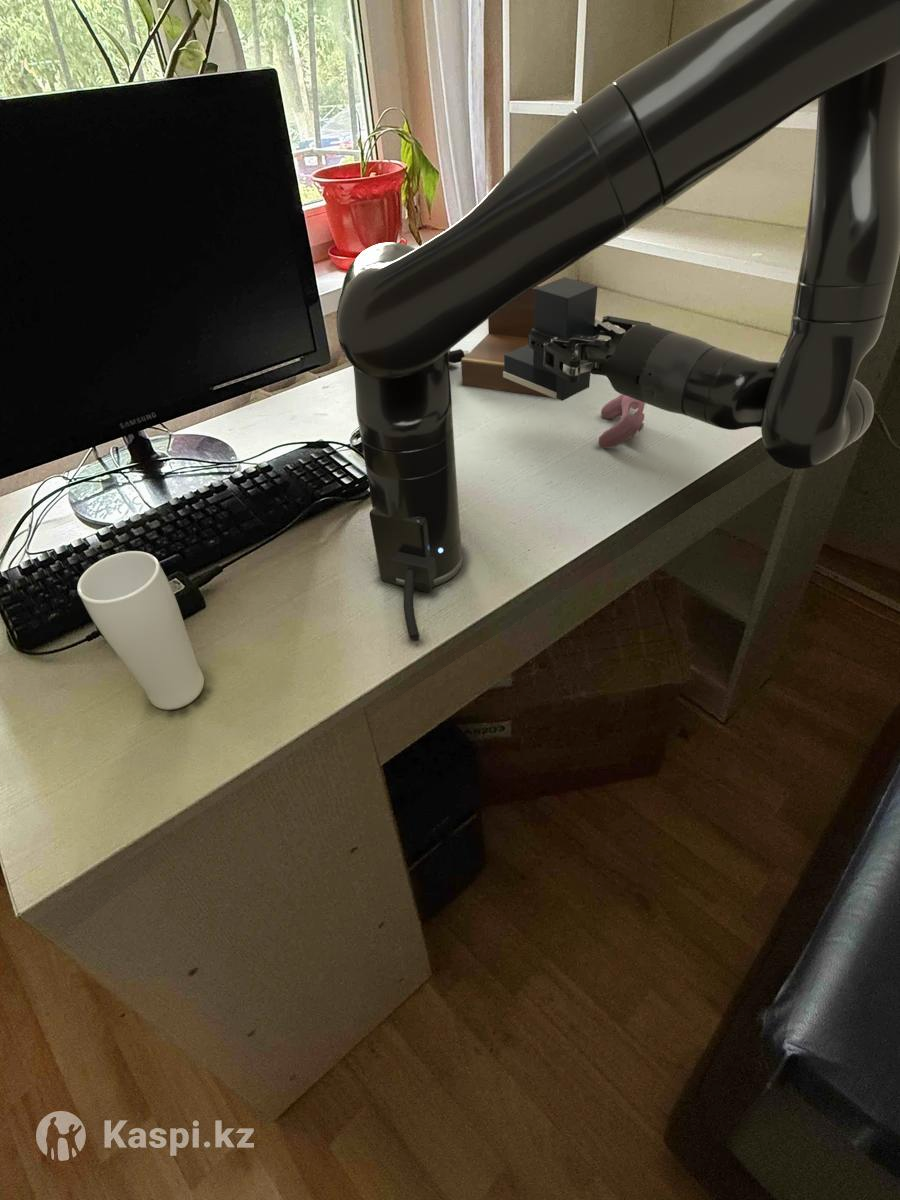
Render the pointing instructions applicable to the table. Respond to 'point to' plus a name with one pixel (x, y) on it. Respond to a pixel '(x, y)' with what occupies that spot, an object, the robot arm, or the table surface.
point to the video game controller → (622, 420)
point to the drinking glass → (143, 626)
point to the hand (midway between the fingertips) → (547, 330)
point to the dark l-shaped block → (562, 314)
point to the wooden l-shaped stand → (501, 347)
